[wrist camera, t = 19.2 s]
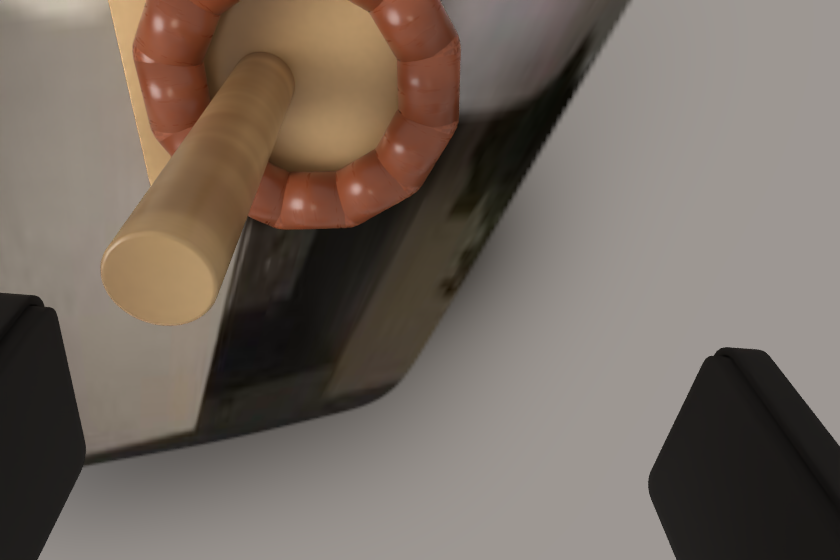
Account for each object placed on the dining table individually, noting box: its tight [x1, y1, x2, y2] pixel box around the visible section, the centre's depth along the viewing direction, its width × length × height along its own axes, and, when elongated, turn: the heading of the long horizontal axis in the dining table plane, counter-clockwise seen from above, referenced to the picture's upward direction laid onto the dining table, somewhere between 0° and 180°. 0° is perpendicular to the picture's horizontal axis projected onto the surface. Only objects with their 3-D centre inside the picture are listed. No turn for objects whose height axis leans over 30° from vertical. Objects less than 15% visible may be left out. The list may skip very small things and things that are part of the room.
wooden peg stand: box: [101, 0, 398, 326], centre depth 17 cm, size 9×9×13 cm
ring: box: [132, 0, 461, 230], centre depth 20 cm, size 10×10×2 cm
